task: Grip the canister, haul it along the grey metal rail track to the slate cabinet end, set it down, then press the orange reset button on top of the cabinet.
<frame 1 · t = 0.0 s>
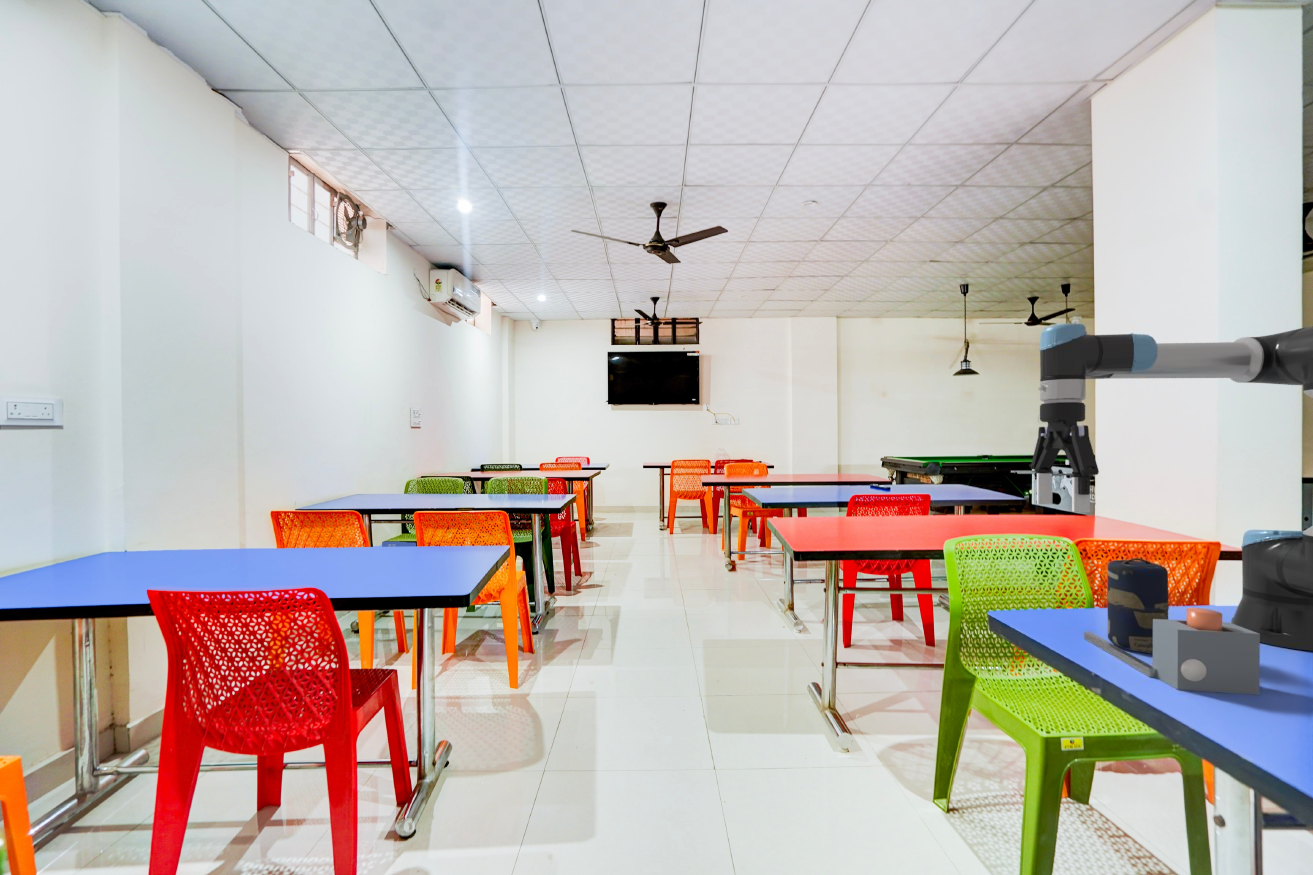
hand: (1061, 507, 117), 28 cm above the table, fingers open, 13 cm apart
canister: (1136, 648, 117), on the table
reset button: (1204, 624, 100), point 10 cm above the table, slide at 0.0 cm
rail track: (1157, 658, 111), on the table
end cabinet: (1203, 684, 100), on the table
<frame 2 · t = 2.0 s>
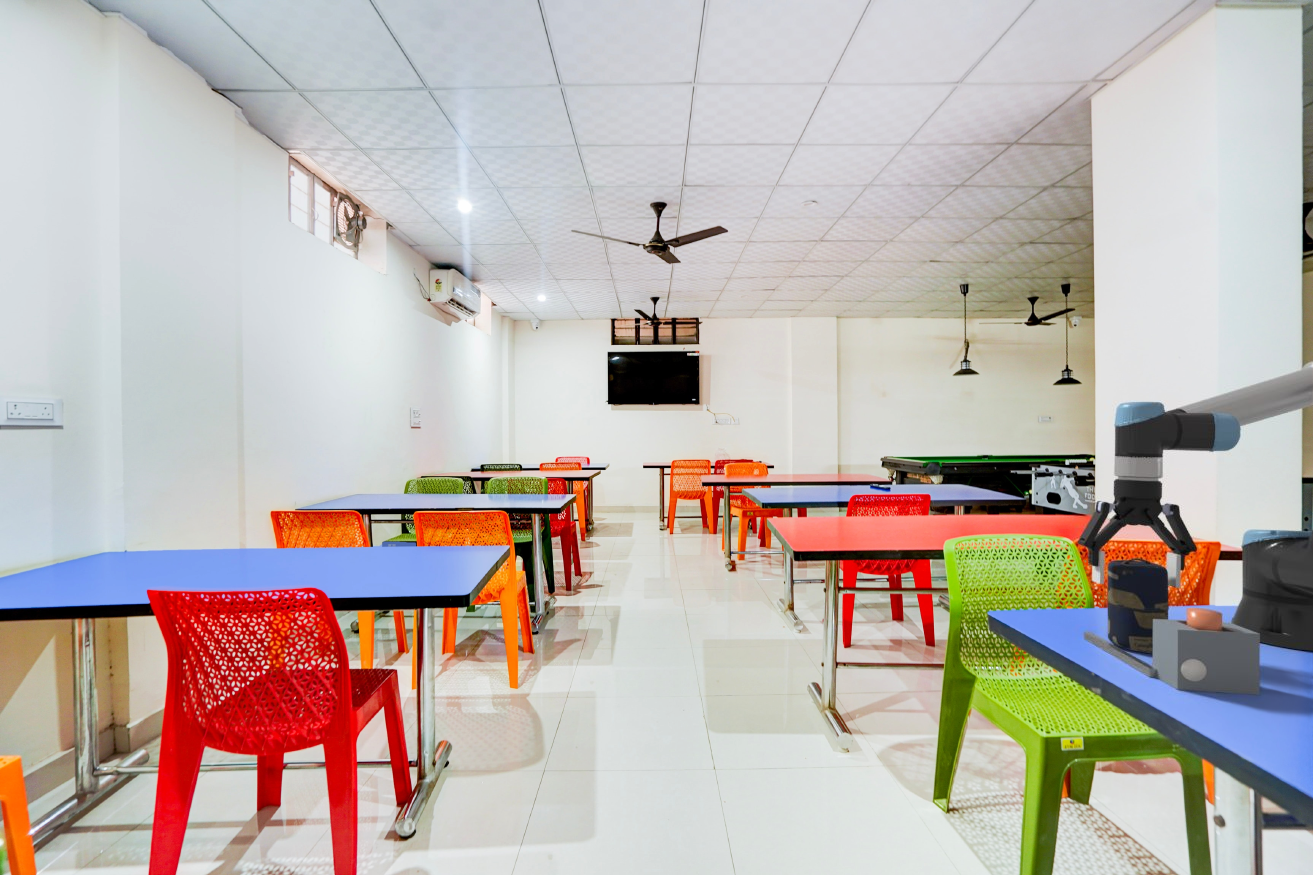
hand: (1135, 584, 117), 13 cm above the table, fingers open, 13 cm apart
nothing on the table moved.
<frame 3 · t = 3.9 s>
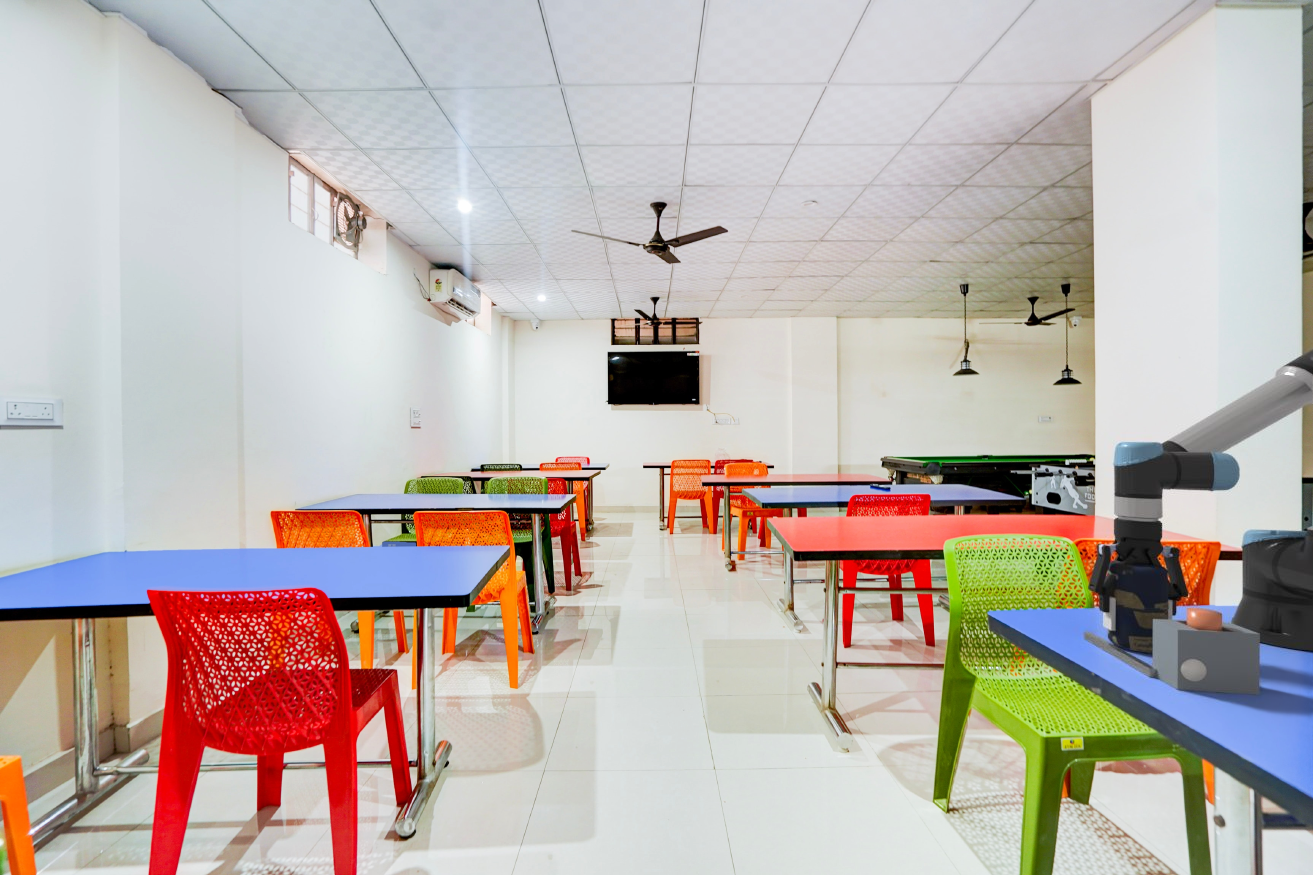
hand: (1137, 629, 117), 4 cm above the table, fingers closed on canister, 9 cm apart
canister: (1136, 648, 117), on the table, touching gripper
everything else where it was.
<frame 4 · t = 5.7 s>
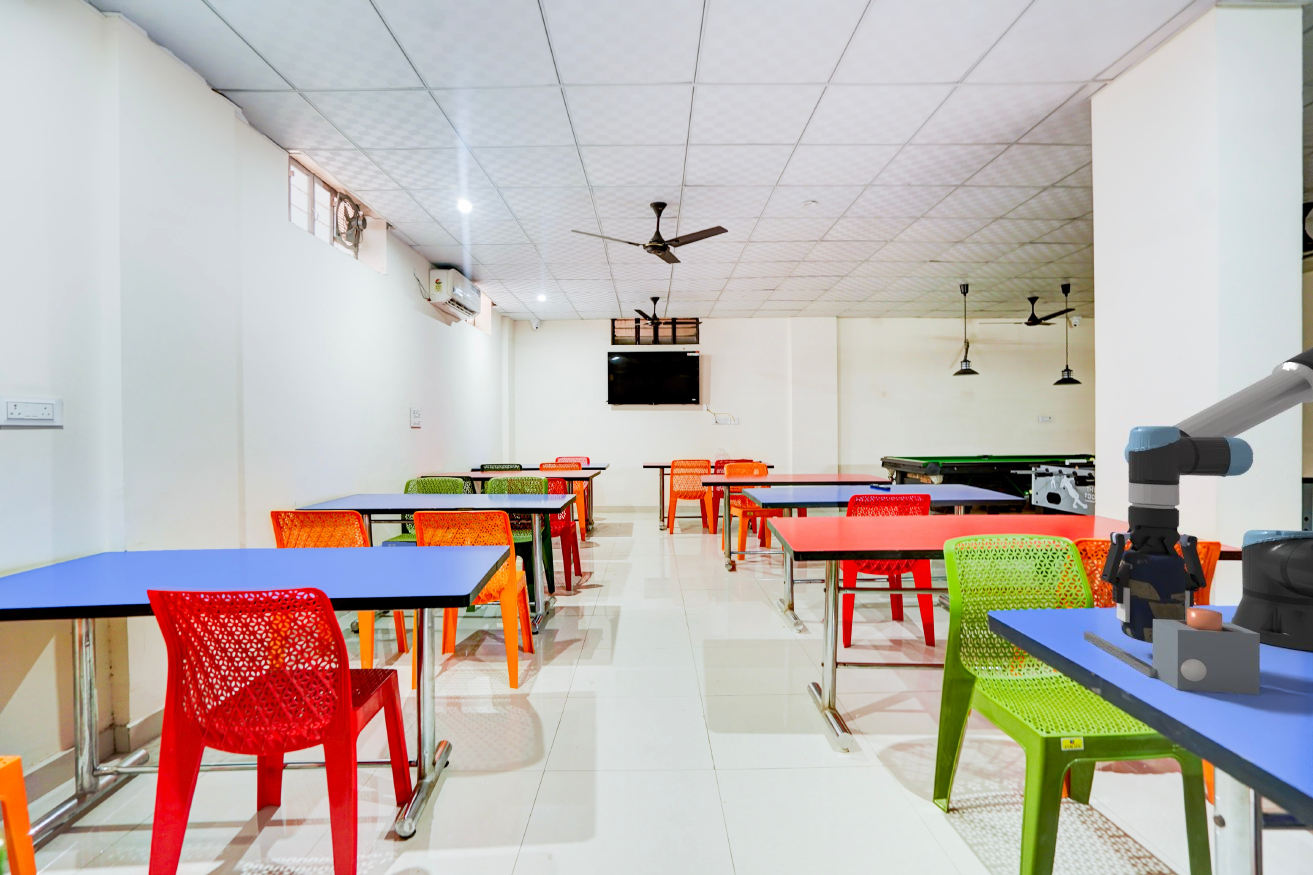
hand: (1152, 621, 113), 7 cm above the table, fingers closed on canister, 9 cm apart
canister: (1152, 641, 113), point 3 cm above the table, touching gripper
everything else where it was.
when the fingers open (4 cm above the table, at t = 7.9 s): canister stays where it is, on the table.
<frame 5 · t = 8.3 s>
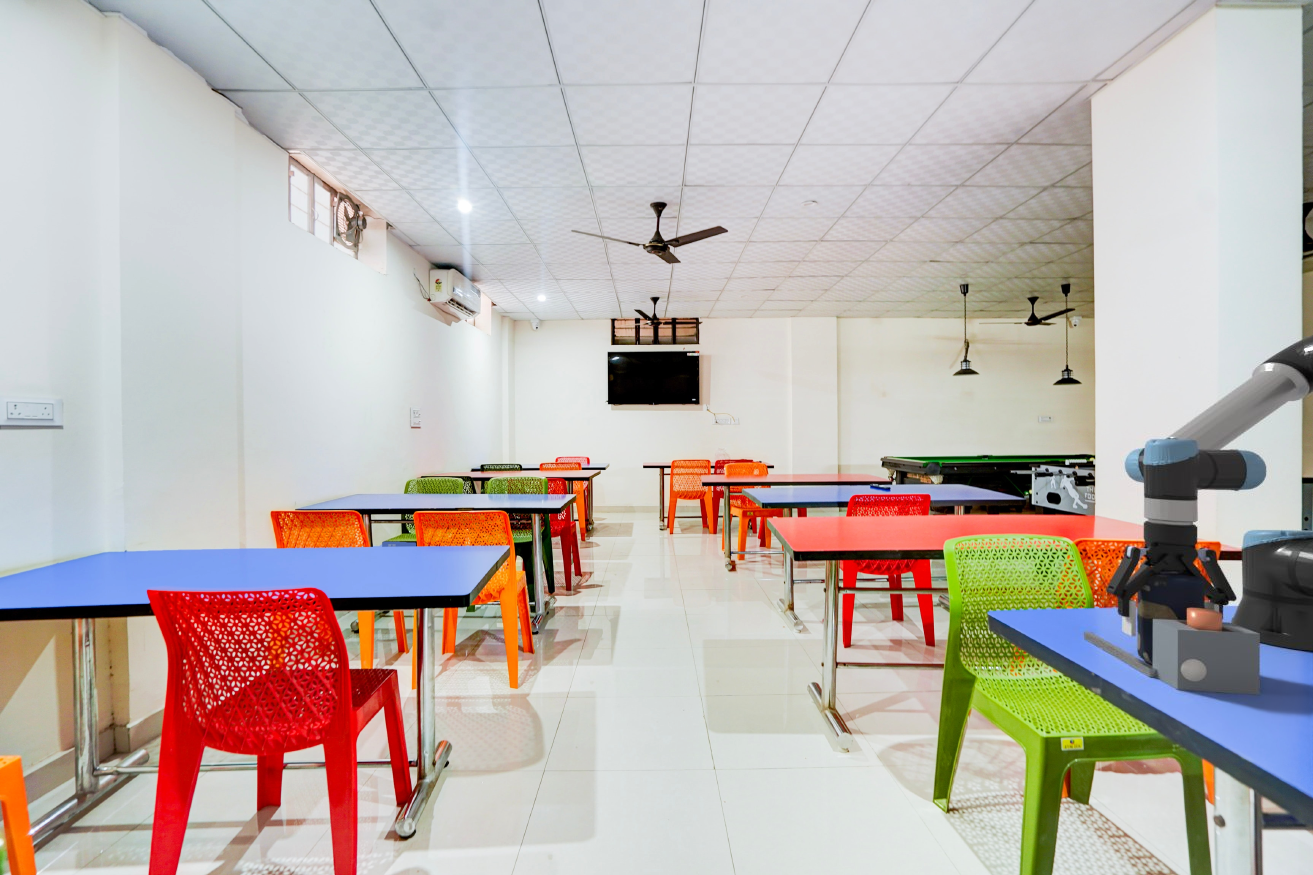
hand: (1169, 636, 108), 5 cm above the table, fingers open, 13 cm apart
canister: (1169, 665, 108), on the table
everything else where it was.
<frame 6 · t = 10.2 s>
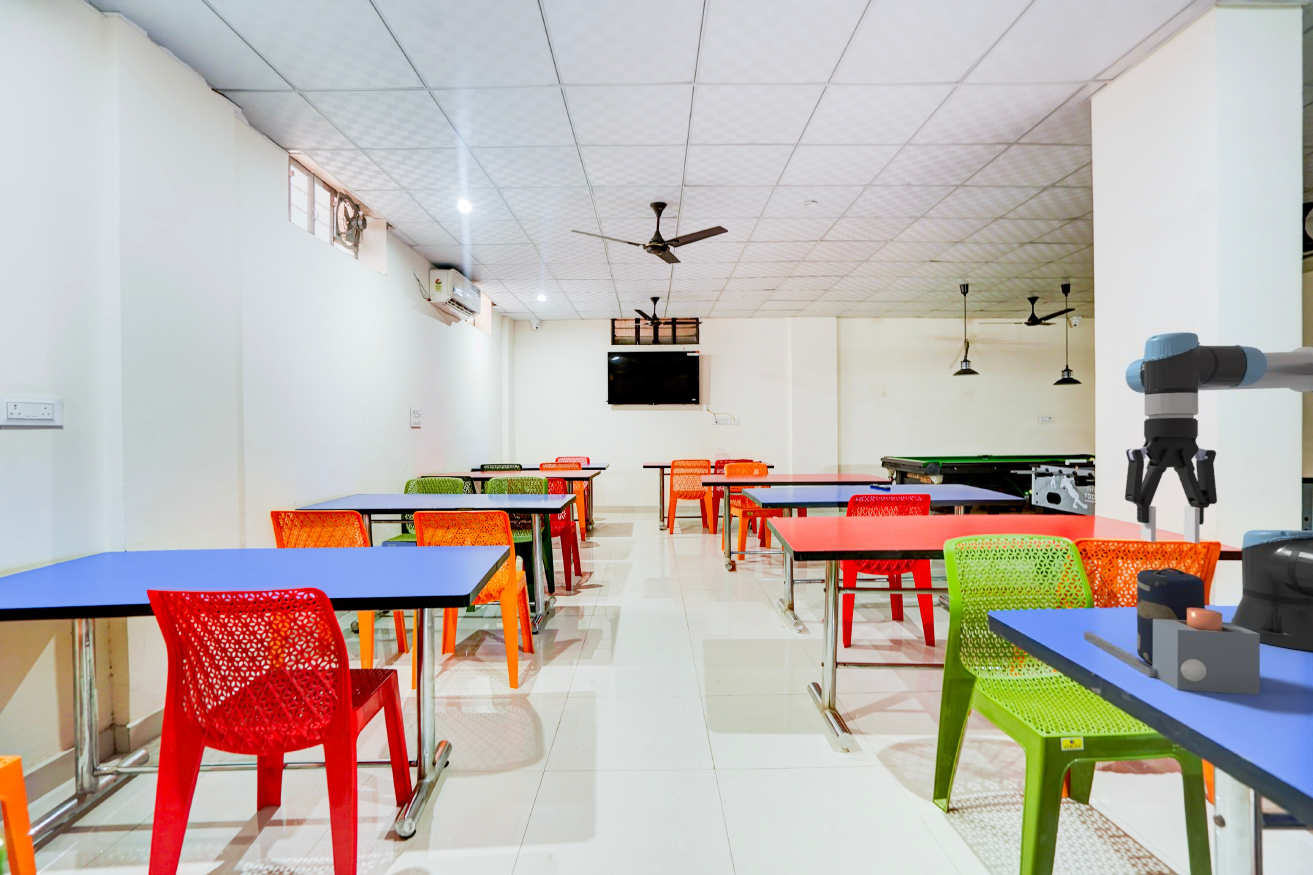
hand: (1169, 541, 108), 23 cm above the table, fingers open, 6 cm apart
nothing on the table moved.
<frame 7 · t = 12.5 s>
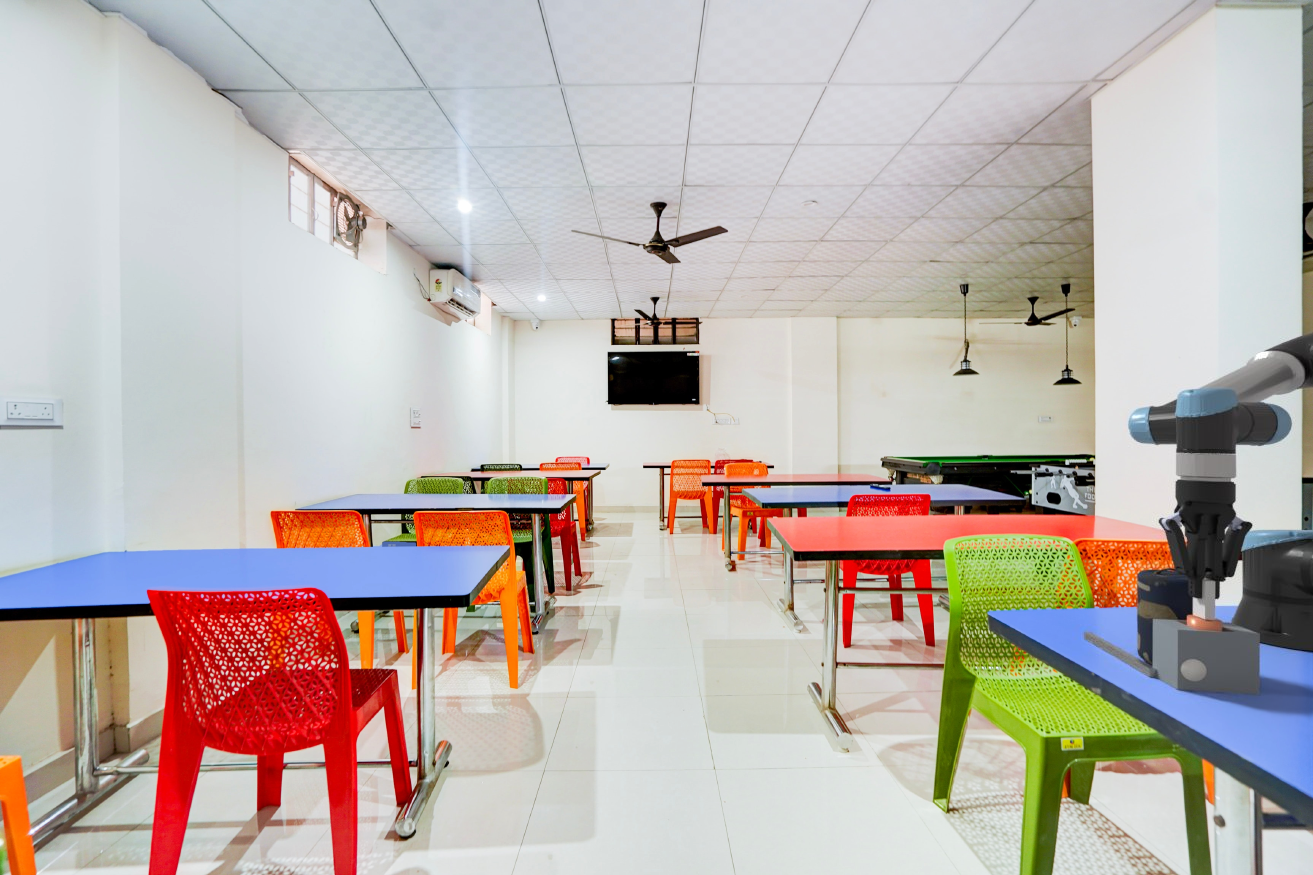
hand: (1203, 617, 100), 12 cm above the table, fingers closed
reset button: (1204, 631, 100), point 9 cm above the table, slide at -1.3 cm, touching gripper
everything else where it was.
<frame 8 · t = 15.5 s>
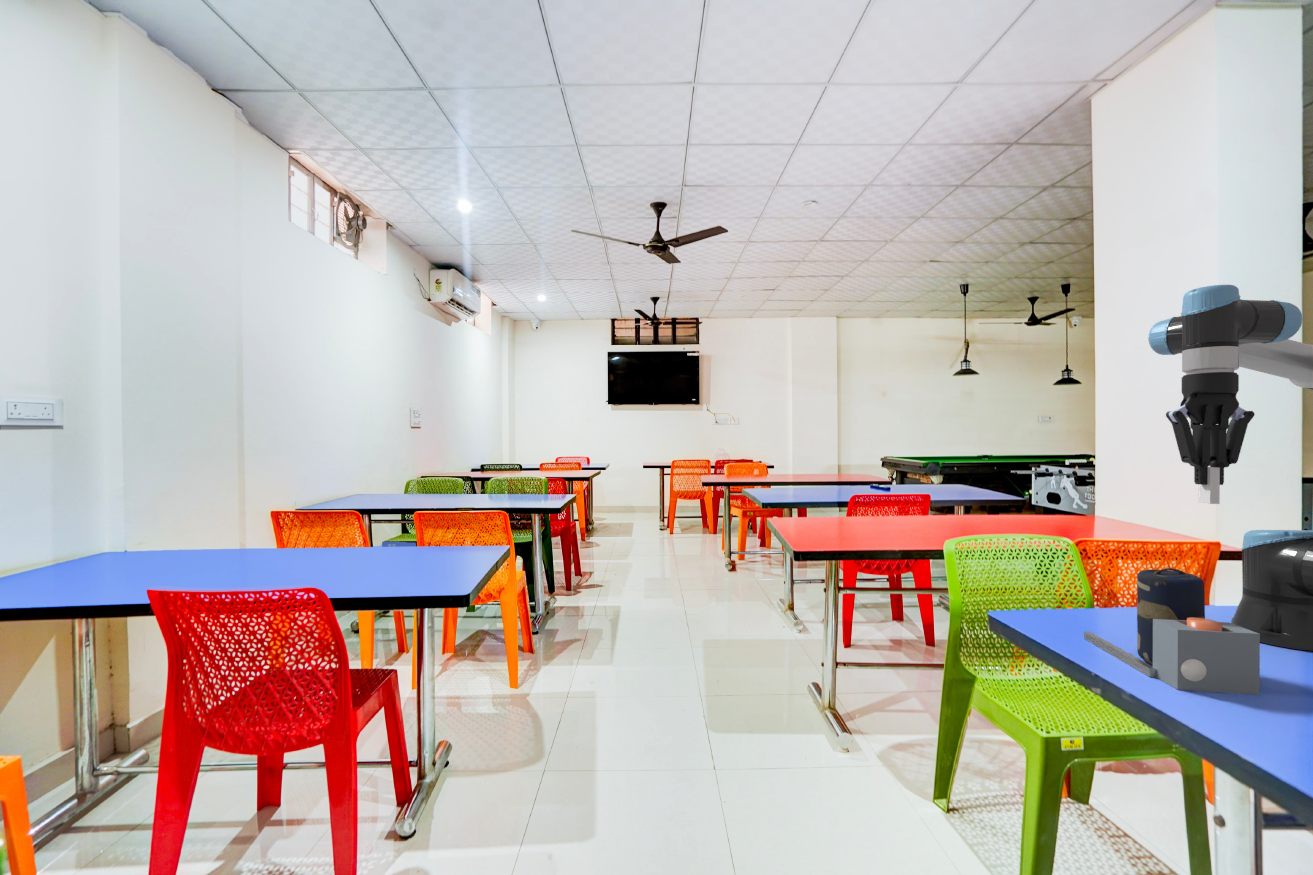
hand: (1208, 502, 106), 30 cm above the table, fingers closed
reset button: (1204, 634, 100), point 9 cm above the table, slide at -1.7 cm
everything else where it was.
at the end: canister inside the target area (0.3 cm from its centre), on the table; canister tilted 0°; canister touching table; reset button slide at -1.7 cm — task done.
